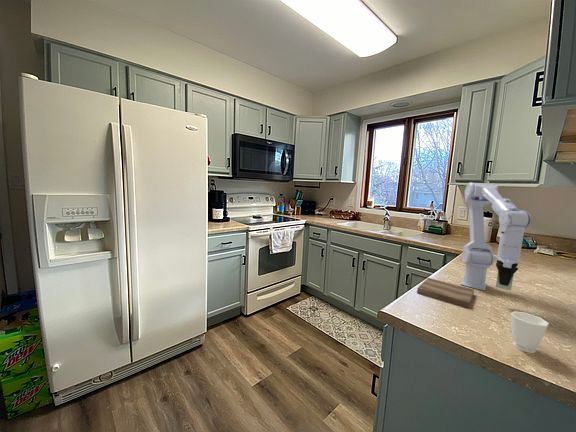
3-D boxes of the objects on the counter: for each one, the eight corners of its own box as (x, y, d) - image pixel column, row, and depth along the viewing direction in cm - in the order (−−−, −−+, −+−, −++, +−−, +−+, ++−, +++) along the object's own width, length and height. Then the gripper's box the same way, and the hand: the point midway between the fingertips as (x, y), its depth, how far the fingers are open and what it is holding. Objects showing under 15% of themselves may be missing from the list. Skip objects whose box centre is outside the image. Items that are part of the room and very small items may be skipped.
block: (496, 284, 88) (498, 268, 87) (510, 287, 85) (513, 271, 85) (495, 287, 85) (498, 270, 84) (510, 290, 82) (513, 273, 82)
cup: (507, 348, 62) (512, 318, 61) (502, 330, 70) (507, 304, 69) (547, 361, 57) (553, 329, 56) (536, 340, 66) (542, 312, 65)
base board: (427, 282, 105) (427, 277, 105) (473, 294, 94) (474, 289, 94) (417, 292, 93) (417, 287, 93) (468, 308, 82) (469, 302, 82)
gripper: (495, 240, 91) (490, 275, 93) (493, 246, 81) (487, 285, 82) (521, 244, 87) (515, 280, 88) (523, 250, 76) (516, 291, 78)
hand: (503, 283), depth 85 cm, fingers closed on block, 4 cm apart
